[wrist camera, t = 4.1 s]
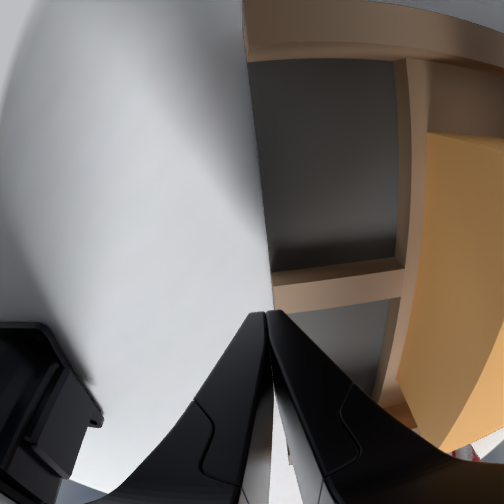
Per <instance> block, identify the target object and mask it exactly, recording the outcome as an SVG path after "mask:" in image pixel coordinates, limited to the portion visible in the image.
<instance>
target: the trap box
mask: <svg viewBox="0 0 504 504" xmlns="http://www.w3.org/2000/svg"><path fill="white" fill-rule="evenodd" d="M243 35H244V43H245V51H246V59H247V67H248V75H249V83H250V91H251V99H252V107H253V116H254V124H255V133H256V141H257V150H258V159H259V168H260V177H261V186H262V195H263V204H264V213H265V223H266V232H267V242H268V252H269V262H270V272H271V282H272V292H273V302H274V310H279V309H281V310H283V311H284V312H285V313H286V314H287V315H288V316H289V317H290V318H291V319H292V320H293V321H294V322H295V323H296V324H297V325H298V326H299V327H300V328H301V329H302V330H303V331H304V332H305V333H306V334H307V335H308V336H309V337H310V338H311V339H312V340H313V341H314V342H315V343H316V344H317V345H318V346H319V347H320V348H321V349H322V350H323V351H324V352H325V353H326V354H327V355H328V356H329V357H330V358H331V359H332V360H333V361H334V362H335V363H336V364H337V365H338V366H339V367H340V368H341V369H342V370H343V371H344V372H345V373H346V374H347V375H348V376H349V377H350V378H351V379H352V380H353V381H354V383H356V384H357V385H358V386H359V387H360V388H361V389H362V390H363V391H364V392H365V393H366V394H367V395H369V396H370V397H371V398H372V399H373V400H374V401H375V402H376V403H377V404H378V405H380V406H381V407H382V408H383V409H385V410H386V411H387V412H388V413H390V414H391V415H392V416H394V417H395V418H396V419H398V420H399V421H400V422H402V423H403V424H404V425H406V426H407V427H409V428H410V429H411V430H413V431H414V432H416V433H417V434H418V435H420V436H421V434H420V431H419V429H418V427H417V424H416V422H415V420H414V417H413V415H412V413H411V410H410V408H409V406H408V404H407V402H406V399H405V397H404V395H403V393H402V391H401V388H400V386H399V384H398V382H397V380H396V375H397V371H398V368H399V364H400V360H401V356H402V352H403V348H404V343H405V339H406V335H407V330H408V325H409V320H410V315H411V310H412V305H413V299H414V294H415V288H416V282H417V275H418V268H419V261H420V253H421V244H422V235H423V225H424V213H425V198H426V175H427V132H429V133H450V134H465V135H478V136H488V137H498V138H504V34H503V33H501V32H498V31H495V30H493V29H490V28H487V27H484V26H481V25H478V24H475V23H472V22H469V21H465V20H462V19H458V18H455V17H451V16H448V15H444V14H440V13H436V12H431V11H427V10H422V9H417V8H412V7H407V6H401V5H395V4H389V3H382V2H374V1H366V0H243ZM286 442H287V440H286ZM287 451H288V459H289V465H293V463H292V459H291V455H290V451H289V447H288V444H287Z"/></svg>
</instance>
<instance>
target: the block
mask: <svg viewBox="0 0 504 504" xmlns="http://www.w3.org/2000/svg"><path fill="white" fill-rule="evenodd" d="M396 380H397V382H398V384H399V386H400V388H401V391H402V393H403V395H404V397H405V399H406V402H407V404H408V406H409V408H410V410H411V413H412V415H413V417H414V420H415V422H416V424H417V427H418V429H419V431H420V434H421V436H422V437H423V438H424V439H425V440H427V441H428V442H430V443H431V444H433V445H434V446H435V447H437V448H438V449H440V450H442V451H443V452H445V453H449V452H452V451H454V450H457V449H459V448H461V447H464V446H466V445H468V444H470V443H472V442H475V441H477V440H479V439H481V438H483V437H485V436H487V435H489V434H491V433H493V432H495V431H497V430H499V429H501V428H503V427H504V138H498V137H488V136H478V135H465V134H450V133H429V132H427V175H426V198H425V213H424V225H423V235H422V244H421V253H420V261H419V268H418V275H417V282H416V288H415V294H414V299H413V305H412V310H411V315H410V320H409V325H408V330H407V335H406V339H405V343H404V348H403V352H402V356H401V360H400V364H399V368H398V371H397V375H396Z"/></svg>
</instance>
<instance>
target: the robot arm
mask: <svg viewBox="0 0 504 504" xmlns="http://www.w3.org/2000/svg"><path fill="white" fill-rule="evenodd" d="M266 320H267V321H266ZM270 357H271V358H270ZM271 366H272V367H271ZM272 375H273V376H272ZM273 384H274V387H273ZM274 391H275V396H276V401H277V404H278V408H279V412H280V416H281V420H282V424H283V428H284V432H285V436H286V440H287V444H288V447H289V451H290V455H291V459H292V463H293V467H294V471H295V474H296V478H297V482H298V486H299V490H300V493H301V497H302V501H303V504H504V464H500V463H487V462H477V461H469V460H463V459H460V458H456V457H454V456H451V455H449V454H447V453H445V452H443V451H442V450H440V449H438V448H437V447H435V446H434V445H433V444H431V443H430V442H428V441H427V440H425V439H424V438H423V437H421V436H420V435H418V434H417V433H416V432H414V431H413V430H411V429H410V428H409V427H407V426H406V425H404V424H403V423H402V422H400V421H399V420H398V419H396V418H395V417H394V416H392V415H391V414H390V413H388V412H387V411H386V410H385V409H383V408H382V407H381V406H380V405H378V404H377V403H376V402H375V401H374V400H373V399H372V398H371V397H370V396H369V395H367V394H366V393H365V392H364V391H363V390H362V389H361V388H360V387H359V386H358V385H357V384H356V383H354V381H353V380H352V379H351V378H350V377H349V376H348V375H347V374H346V373H345V372H344V371H343V370H342V369H341V368H340V367H339V366H338V365H337V364H336V363H335V362H334V361H333V360H332V359H331V358H330V357H329V356H328V355H327V354H326V353H325V352H324V351H323V350H322V349H321V348H320V347H319V346H318V345H317V344H316V343H315V342H314V341H313V340H312V339H311V338H310V337H309V336H308V335H307V334H306V333H305V332H304V331H303V330H302V329H301V328H300V327H299V326H298V325H297V324H296V323H295V322H294V321H293V320H292V319H291V318H290V317H289V316H288V315H287V314H286V313H285V312H284V311H283V310H281V309H279V310H271V311H267V312H266V313H265V312H263V311H262V312H252V313H249V314H248V316H247V317H246V319H245V320H244V322H243V324H242V325H241V327H240V328H239V330H238V331H237V333H236V335H235V336H234V338H233V339H232V341H231V342H230V344H229V345H228V347H227V348H226V350H225V352H224V353H223V355H222V356H221V358H220V359H219V361H218V362H217V364H216V365H215V367H214V368H213V370H212V371H211V373H210V375H209V376H208V378H207V379H206V381H205V382H204V384H203V385H202V387H201V388H200V390H199V391H198V393H197V394H196V396H195V397H194V399H193V400H194V401H191V403H190V404H189V406H188V407H187V409H186V410H185V412H184V413H183V415H182V416H181V417H180V419H179V420H178V421H177V423H176V424H175V426H174V427H173V428H172V429H171V431H170V432H169V433H168V434H167V435H166V437H165V438H164V439H163V440H162V441H161V442H160V444H159V445H158V446H157V447H156V448H155V449H154V450H153V451H152V452H151V453H150V455H149V456H148V457H147V458H146V459H145V460H144V461H143V462H142V463H141V464H140V465H139V466H138V467H137V468H136V470H135V471H134V472H133V473H132V474H131V475H130V476H129V477H128V478H127V479H126V480H125V481H124V482H123V483H122V484H121V485H120V486H119V487H117V488H116V489H115V490H114V491H112V492H111V493H109V494H108V495H106V496H104V497H102V498H100V499H98V500H95V501H92V502H89V503H85V504H268V503H269V487H270V469H271V451H272V430H273V408H274ZM103 422H104V417H103V416H102V415H101V413H100V412H99V410H98V409H97V407H96V406H95V404H94V403H93V401H92V400H91V398H90V397H89V395H88V394H87V392H86V391H85V389H84V388H83V386H82V384H81V383H80V381H79V379H78V378H77V376H76V375H75V373H74V371H73V370H72V368H71V366H70V364H69V363H68V361H67V359H66V357H65V356H64V354H63V352H62V350H61V348H60V347H59V345H58V343H57V341H56V339H55V337H54V335H53V333H52V332H51V330H50V329H49V328H48V327H47V326H46V325H44V324H43V323H39V322H0V504H55V502H56V499H57V495H58V492H59V489H60V486H61V482H62V479H66V480H67V479H69V478H70V476H71V475H72V471H73V468H74V465H75V462H76V459H77V456H78V453H79V450H80V447H81V444H82V441H83V438H84V436H85V433H86V430H87V427H94V428H101V427H102V425H103Z"/></svg>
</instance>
